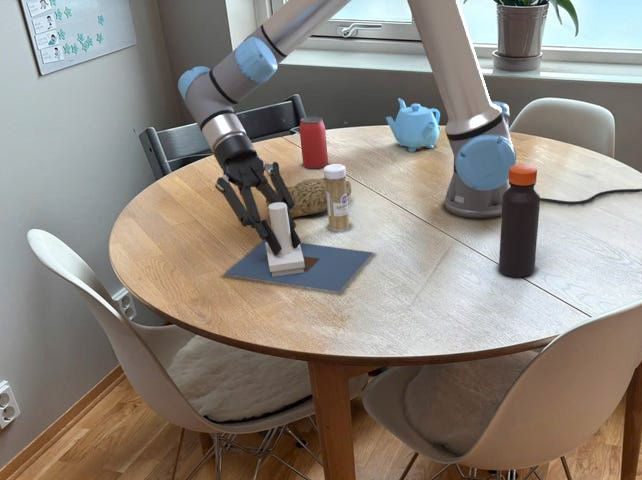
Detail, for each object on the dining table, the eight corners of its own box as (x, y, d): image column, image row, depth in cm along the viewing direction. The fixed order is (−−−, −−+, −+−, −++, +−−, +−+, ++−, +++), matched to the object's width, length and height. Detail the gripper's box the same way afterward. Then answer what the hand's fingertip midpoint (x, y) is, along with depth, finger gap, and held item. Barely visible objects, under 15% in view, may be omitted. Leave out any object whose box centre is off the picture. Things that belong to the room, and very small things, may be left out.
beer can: (333, 163, 191) (329, 117, 185) (317, 171, 187) (313, 124, 180) (314, 159, 194) (309, 114, 187) (298, 166, 190) (292, 120, 183)
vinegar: (507, 259, 143) (513, 160, 132) (539, 267, 140) (548, 166, 129) (492, 273, 138) (497, 171, 127) (525, 281, 135) (533, 178, 124)
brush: (299, 249, 147) (292, 193, 140) (305, 273, 138) (297, 214, 132) (267, 254, 146) (257, 197, 139) (271, 277, 137) (261, 218, 130)
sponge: (275, 232, 158) (361, 203, 160) (263, 198, 155) (350, 169, 157) (272, 220, 170) (352, 193, 172) (260, 188, 167) (342, 161, 169)
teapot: (381, 150, 199) (379, 108, 193) (399, 136, 210) (398, 96, 204) (433, 156, 195) (432, 114, 188) (449, 141, 205) (450, 100, 199)
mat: (373, 254, 146) (373, 252, 145) (339, 294, 132) (339, 291, 132) (266, 240, 152) (266, 238, 152) (224, 276, 139) (224, 274, 139)
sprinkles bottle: (345, 232, 155) (340, 171, 147) (325, 230, 156) (319, 169, 148) (352, 224, 158) (348, 164, 151) (333, 222, 160) (328, 162, 152)
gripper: (262, 145, 148) (317, 243, 146) (187, 165, 139) (244, 270, 137) (272, 123, 141) (329, 227, 140) (194, 143, 132) (254, 253, 131)
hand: (287, 248), depth 139 cm, fingers closed on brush, 4 cm apart
